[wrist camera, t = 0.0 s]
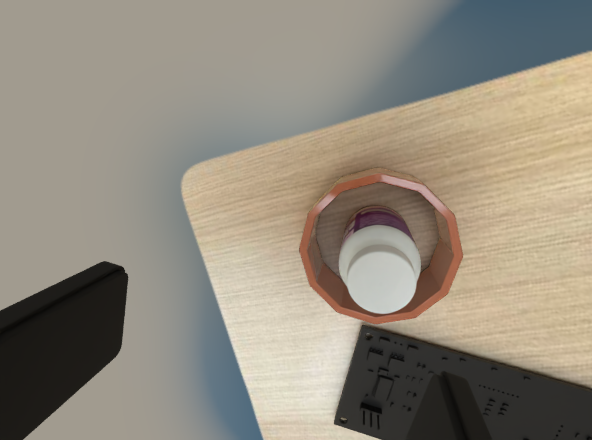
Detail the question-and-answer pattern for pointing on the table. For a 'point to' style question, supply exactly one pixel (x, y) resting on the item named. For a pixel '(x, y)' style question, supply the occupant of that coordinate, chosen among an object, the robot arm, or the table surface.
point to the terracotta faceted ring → (430, 281)
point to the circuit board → (482, 380)
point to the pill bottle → (379, 260)
